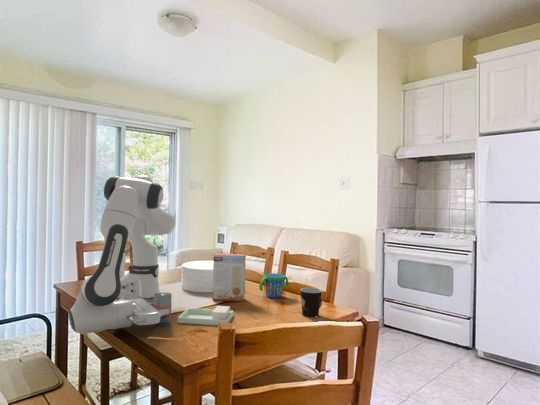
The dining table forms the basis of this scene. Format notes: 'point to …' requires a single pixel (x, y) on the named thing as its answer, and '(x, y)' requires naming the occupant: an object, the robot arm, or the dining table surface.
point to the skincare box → (122, 267)
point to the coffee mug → (310, 301)
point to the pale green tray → (201, 317)
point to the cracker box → (229, 277)
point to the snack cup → (273, 284)
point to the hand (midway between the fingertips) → (164, 308)
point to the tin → (162, 302)
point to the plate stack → (197, 276)
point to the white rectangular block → (221, 312)
